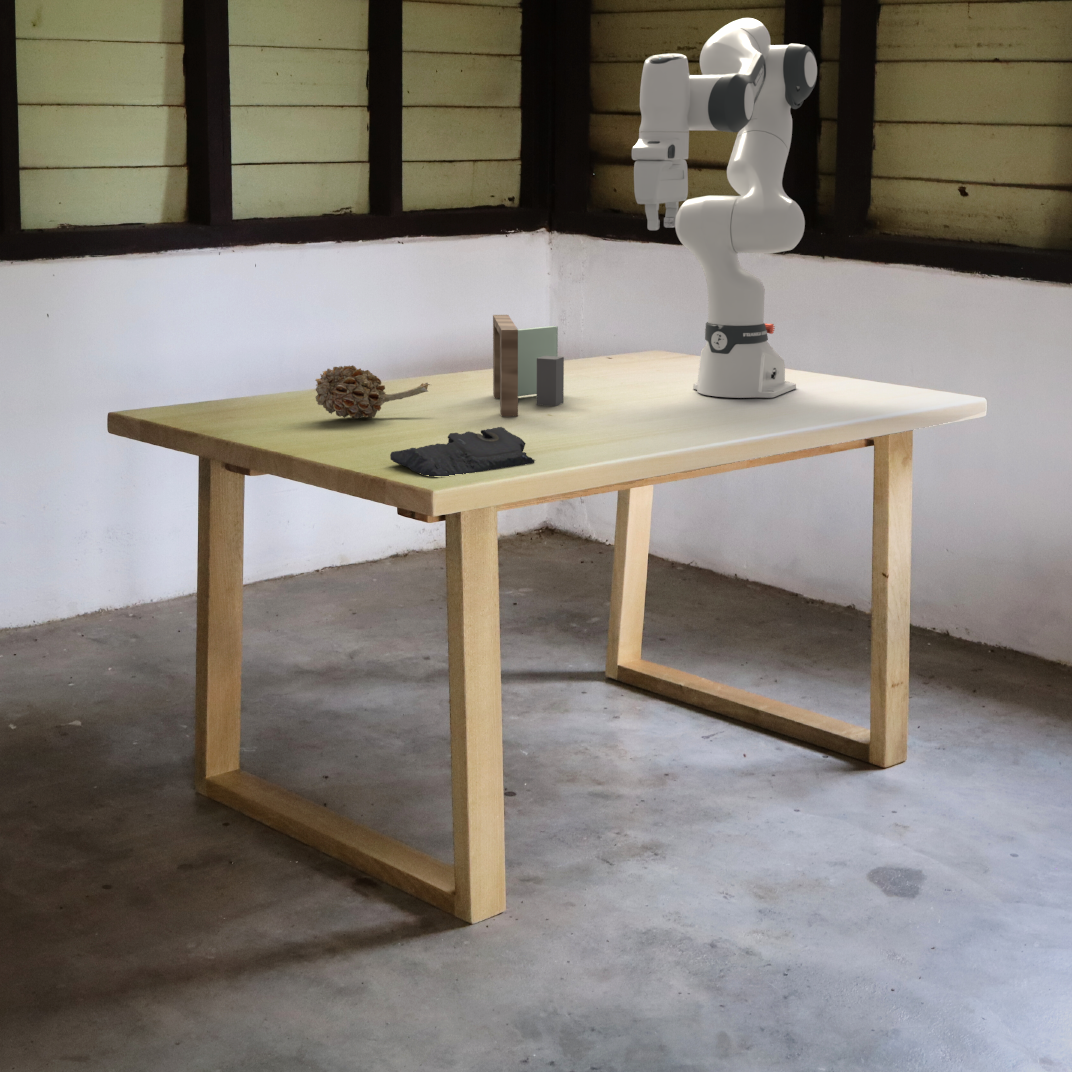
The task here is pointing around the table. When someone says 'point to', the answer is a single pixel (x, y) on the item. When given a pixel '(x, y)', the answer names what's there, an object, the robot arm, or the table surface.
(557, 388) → the gray rectangular block
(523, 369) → the door
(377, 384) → the dried seed pod
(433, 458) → the dark slate chunk
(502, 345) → the door frame
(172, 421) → the table surface
